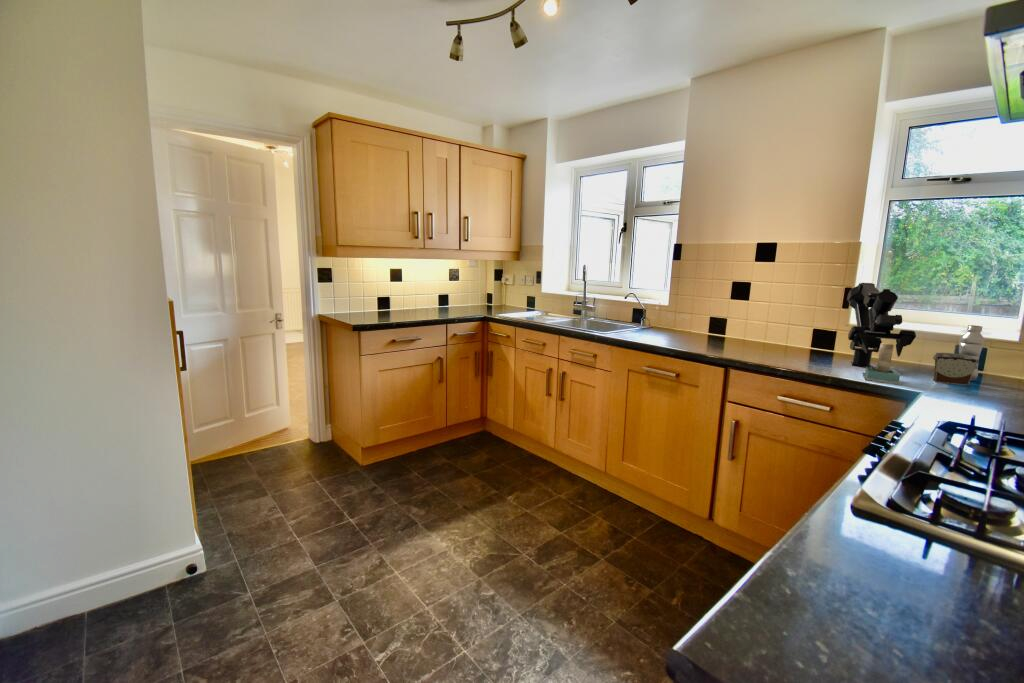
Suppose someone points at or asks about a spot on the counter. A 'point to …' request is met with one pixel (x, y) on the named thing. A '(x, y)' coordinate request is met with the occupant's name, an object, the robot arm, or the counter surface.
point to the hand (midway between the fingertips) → (883, 354)
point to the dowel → (884, 357)
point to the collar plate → (882, 376)
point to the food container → (954, 368)
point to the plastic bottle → (972, 345)
